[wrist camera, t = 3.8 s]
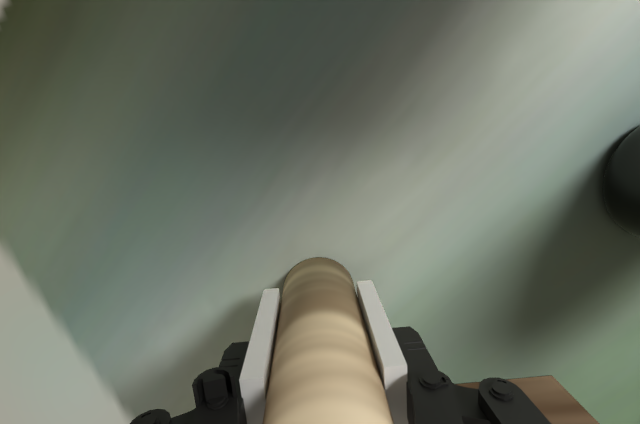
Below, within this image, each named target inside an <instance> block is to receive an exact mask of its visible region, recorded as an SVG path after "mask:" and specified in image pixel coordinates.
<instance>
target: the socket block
mask: <svg viewBox="0 0 640 424" xmlns="http://www.w3.org/2000/svg"><path fill="white" fill-rule="evenodd" d="M507 380H508V381H510V382H512V383H514V384H516V385H517V386H518V387H519V388H520V389H521V390H522V391H523V392H524V393H525V394H526V395H527V396H528V398H529V399H530V400H531V401H532V402H533V403H534V404H535V406H536V407H537V408H538V409H539V410H540V411H541V412H542V414H543V415H544V416H545V417H546V418H547V419H548V420H549V422H550V423H551V424H599V423H598V422H597V421H596V420H595V419H594V418H593V417H592V416H591V415H590V414H589V413H588V412H587V411H586V410H585V409H584V408H583V407H582V406H581V405H580V404H579V403H578V402H577V401H576V400H575V399H574V398H573V397H572V395H571V394H570V393H569V392H568V391H567V390H566V389H565V388H564V387H563V386H562V385H561V384H560V383H559V382H558V381H557V380H556V379H555V378H554V377H553V376H552V375H551V376H540V377H529V378H518V379H507ZM479 383H480V382H474V383H464V384H456V385H458V386H463V387H468V388H475V389H478V388H479ZM408 424H409V422H408Z"/></svg>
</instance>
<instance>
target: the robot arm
mask: <svg viewBox="0 0 640 424" xmlns="http://www.w3.org/2000/svg"><path fill="white" fill-rule="evenodd" d="M357 295H358V301H359V305H360V308H361V311H362V315H363V318H364V322H365V325H366V329H367V332H368V335H369V339H370V342H371V346H372V349H373V352H374V356H375V359H376V363H377V366H378V370H379V373H380V376H381V380H382V383H383V387H384V390H385V394H386V397H387V400H388V404H389V407H390V411H391V414H392V417H393V421H394V424H408V422H409V424H551V423H550V422H549V420H548V419H547V418H546V417H545V416H544V415H543V414H542V412H541V411H540V410H539V409H538V408H537V407H536V406H535V404H534V403H533V402H532V401H531V400H530V399H529V398H528V396H527V395H526V394H525V393H524V392H523V391H522V390H521V389H520V388H519V387H518V386H517V385H516V384H514V383H512V382H510V381H508V380H505V379H501V378H487V379H484V380H482V381H481V382H480V383H479V388H478V389H475V388H468V387H463V386H458V385H456V384H453V383H452V382H451V380H450V378H449V377H448V376H446V375H445V374H444V373H442V372H440V371H438V369H437V367H436V365H435V363H434V361H433V359H432V358H431V356H430V354H429V352H428V350H427V349H426V346H425V345H424V343H423V341H422V339H421V337H420V335H419V333H418V332H416V331H415V330H414V329H412V328H411V327H410V326H409V327H398V328H391V325H390V323H389V320H388V318H387V316H386V313H385V311H384V308H383V306H382V304H381V301H380V299H379V296H378V294H377V292H376V289H375V287H374V285H373V282H372V280H365V281H357ZM280 306H281V302H280V294H279V288H272V289H264V290H263V294H262V298H261V302H260V305H259V309H258V313H257V316H256V320H255V324H254V327H253V331H252V335H251V338H250V341H249V342H238V343H232V344H231V345H230V346H229V347H228V348H227V349H226V350H225V351H224V354H223V357H222V361H221V362H220V365H219V367H216V368H212V369H209V370H206V371H205V372H203V373H201V374H200V375H199V376H198V377H197V378H196V379H195V380H194V382H193V384H192V387H193V392H194V397H195V403H196V408H195V409H194V410H192V411H190V412H187V413H185V414H182V415H179V416H176V417H173V418H171V417H170V414H169V412H167V411H166V410H163V409H155V410H150V411H147V412H145V413H143V414H141V415H139V416H138V417H136V418H135V419H134V420H132V422H131V423H130V424H263V417H264V411H265V404H266V397H267V391H268V384H269V378H270V371H271V365H272V358H273V352H274V345H275V339H276V332H277V326H278V319H279V313H280Z"/></svg>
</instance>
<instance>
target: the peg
mask: <svg viewBox="0 0 640 424" xmlns="http://www.w3.org/2000/svg"><path fill="white" fill-rule="evenodd" d="M263 424H394V421H393V417H392V414H391V411H390V407H389V404H388V400H387V397H386V394H385V390H384V387H383V383H382V380H381V376H380V373H379V370H378V366H377V363H376V359H375V356H374V352H373V349H372V346H371V342H370V339H369V335H368V332H367V329H366V325H365V322H364V318H363V315H362V311H361V308H360V305H359V301H358V298H357V294H356V291H355V287H354V284H353V281H352V278H351V276H350V274H349V272H348V271H347V270H346V269H345V268H344V267H343V266H342V265H341V264H339V263H338V262H336V261H334V260H331V259H328V258H321V257H317V258H310V259H307V260H304V261H302V262H300V263H298V264H297V265H296V266H294V267H293V268H292V269H291V271H290V272H289V273H288V275H287V277H286V279H285V282H284V287H283V293H282V300H281V306H280V313H279V319H278V326H277V332H276V339H275V345H274V352H273V358H272V365H271V371H270V378H269V384H268V391H267V397H266V404H265V411H264V417H263Z"/></svg>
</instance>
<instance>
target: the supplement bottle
mask: <svg viewBox="0 0 640 424" xmlns="http://www.w3.org/2000/svg"><path fill="white" fill-rule="evenodd" d="M603 196H604V201H605V205H606V208H607V210H608V212H609V214H610V216H611V217H612V219H613V220H614V221H615V222H616V223H617V224H618V225H619V226H620V227H621V228H622V229H624V230H625V231H627V232H628V233H630V234H632V235H635V236H637V237H640V126H639V127H638V128H636V129H635V130H634V131H633V132H631V133H630V134H629V135H628V136H627V137H626V138H625V139H624V140H623V141H622V142H621V143H620V145H619V146H618V147H617V149H616V150H615V152H614V153H613V155H612V157H611V159H610V161H609V163H608V165H607V168H606V171H605V175H604V181H603Z"/></svg>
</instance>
